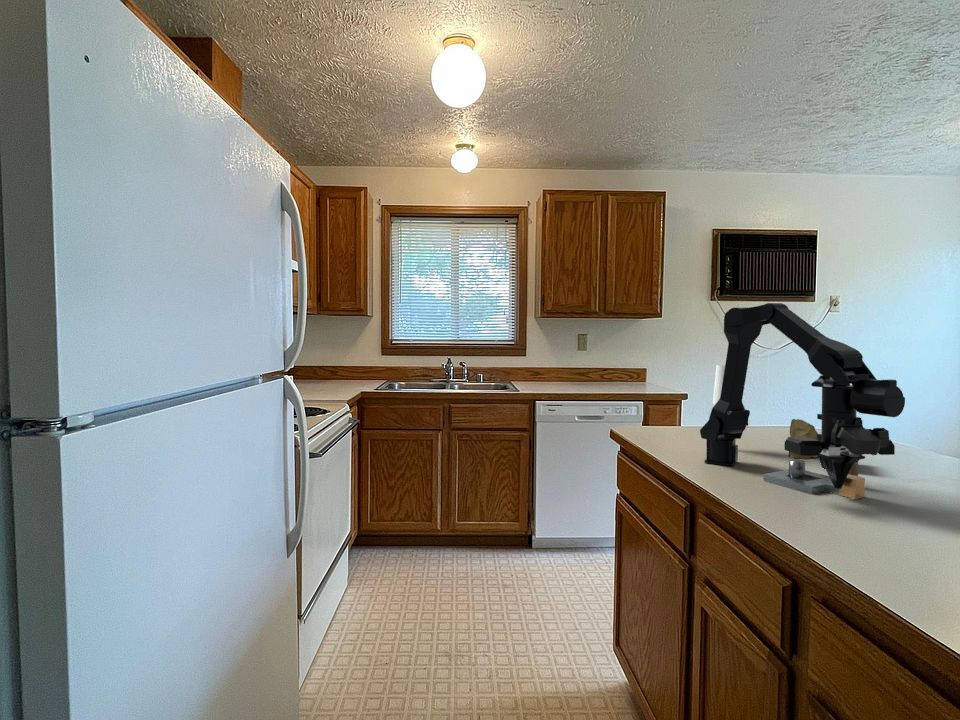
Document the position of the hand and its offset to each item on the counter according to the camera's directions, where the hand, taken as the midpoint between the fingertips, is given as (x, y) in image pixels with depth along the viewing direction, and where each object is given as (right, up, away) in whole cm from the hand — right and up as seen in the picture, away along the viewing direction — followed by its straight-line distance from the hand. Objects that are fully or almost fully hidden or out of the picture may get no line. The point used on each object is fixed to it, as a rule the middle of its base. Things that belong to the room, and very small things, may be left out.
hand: (837, 488), depth 103 cm
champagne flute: (-2, 0, +44) cm, 44 cm away
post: (-2, -1, +10) cm, 10 cm away
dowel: (+8, -1, +8) cm, 11 cm away
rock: (+16, 0, +34) cm, 38 cm away
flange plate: (0, -2, +7) cm, 7 cm away
